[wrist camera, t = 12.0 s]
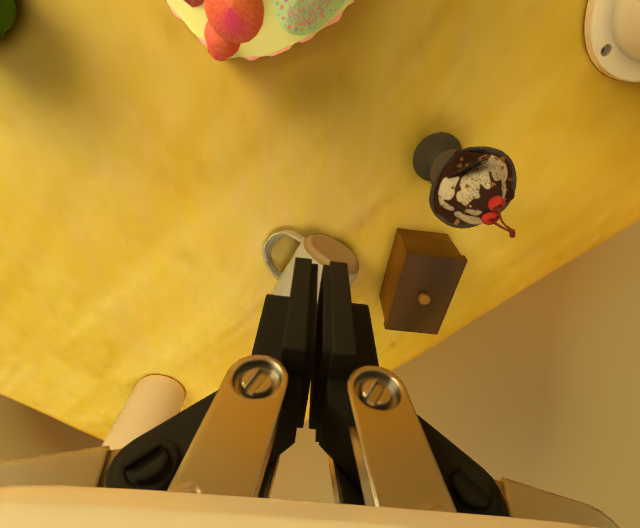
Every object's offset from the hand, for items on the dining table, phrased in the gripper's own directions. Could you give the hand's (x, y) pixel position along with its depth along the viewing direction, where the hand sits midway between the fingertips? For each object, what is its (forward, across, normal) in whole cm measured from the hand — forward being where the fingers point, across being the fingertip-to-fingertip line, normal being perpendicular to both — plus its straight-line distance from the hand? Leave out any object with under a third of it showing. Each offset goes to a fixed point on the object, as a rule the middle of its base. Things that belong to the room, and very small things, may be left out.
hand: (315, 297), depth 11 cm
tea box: (+27, -13, +14) cm, 33 cm away
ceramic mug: (+27, 0, +15) cm, 31 cm away
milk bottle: (+27, +21, +42) cm, 54 cm away
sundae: (+27, -12, +1) cm, 30 cm away
